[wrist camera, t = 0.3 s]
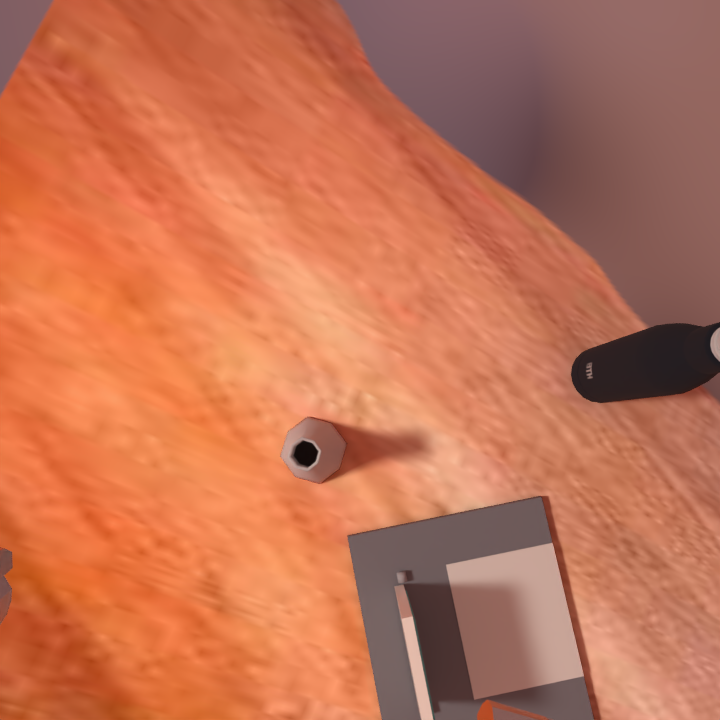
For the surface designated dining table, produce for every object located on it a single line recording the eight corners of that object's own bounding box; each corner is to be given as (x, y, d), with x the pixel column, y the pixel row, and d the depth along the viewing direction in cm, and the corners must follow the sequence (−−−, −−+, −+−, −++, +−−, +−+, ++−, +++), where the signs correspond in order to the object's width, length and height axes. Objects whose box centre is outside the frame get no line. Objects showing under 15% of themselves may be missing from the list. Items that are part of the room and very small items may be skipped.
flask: (357, 441, 61) (357, 444, 51) (321, 495, 61) (314, 508, 51) (306, 405, 62) (295, 401, 52) (269, 458, 61) (251, 464, 51)
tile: (428, 700, 57) (443, 758, 47) (417, 703, 57) (429, 761, 47) (405, 584, 58) (414, 615, 48) (394, 586, 58) (401, 618, 48)
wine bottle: (637, 381, 62) (892, 338, 32) (594, 413, 62) (812, 399, 32) (602, 337, 63) (821, 254, 33) (559, 368, 62) (742, 313, 33)
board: (591, 721, 58) (599, 730, 56) (391, 764, 57) (391, 775, 55) (539, 496, 61) (544, 498, 59) (347, 535, 60) (347, 538, 58)
